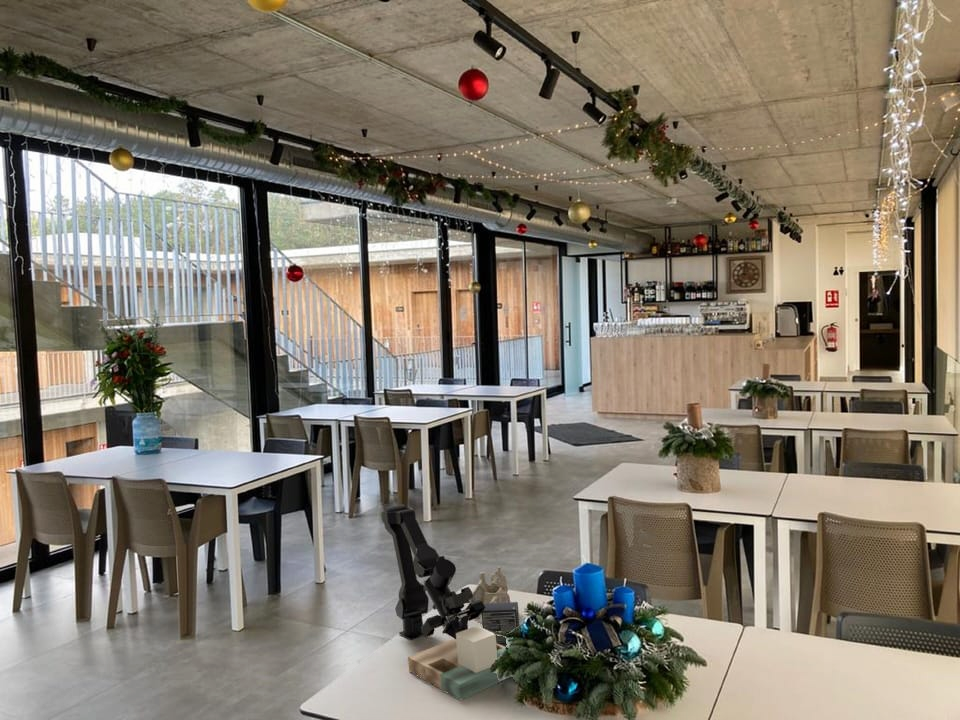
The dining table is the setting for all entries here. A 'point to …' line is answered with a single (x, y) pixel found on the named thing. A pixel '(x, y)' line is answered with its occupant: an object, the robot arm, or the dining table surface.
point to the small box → (500, 618)
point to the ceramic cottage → (491, 590)
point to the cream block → (476, 648)
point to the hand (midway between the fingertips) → (468, 646)
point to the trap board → (451, 670)
